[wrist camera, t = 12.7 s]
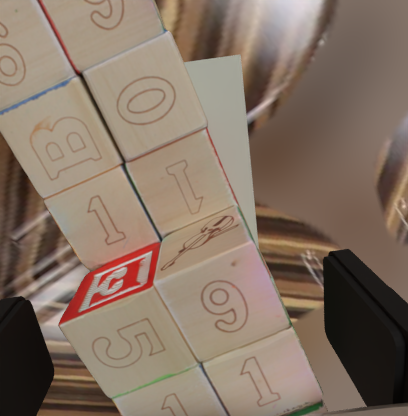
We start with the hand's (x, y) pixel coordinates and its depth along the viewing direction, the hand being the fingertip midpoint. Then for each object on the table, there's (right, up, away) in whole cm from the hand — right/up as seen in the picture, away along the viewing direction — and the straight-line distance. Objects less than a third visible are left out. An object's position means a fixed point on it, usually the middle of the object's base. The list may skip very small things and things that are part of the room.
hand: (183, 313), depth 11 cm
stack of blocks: (-1, +4, +11) cm, 11 cm away
